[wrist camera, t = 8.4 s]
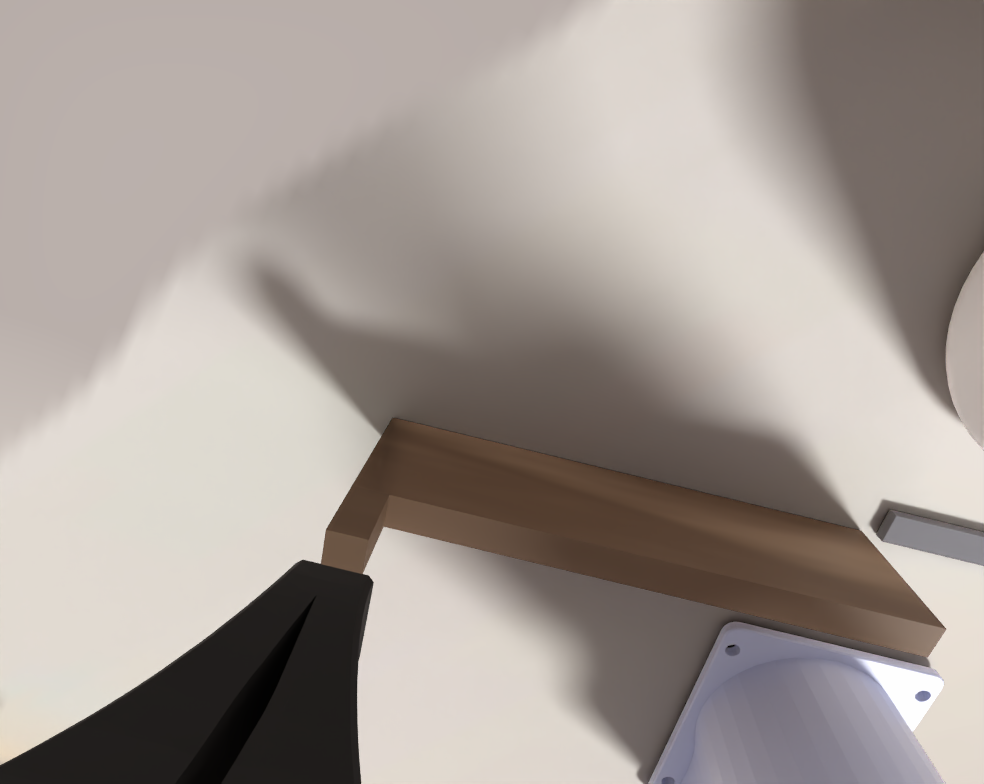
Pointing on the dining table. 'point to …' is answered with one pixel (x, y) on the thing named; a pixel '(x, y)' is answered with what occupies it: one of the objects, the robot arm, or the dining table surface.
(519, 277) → the dining table surface
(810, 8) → the dining table surface
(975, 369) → the cup
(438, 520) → the wooden pieces
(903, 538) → the bracket
